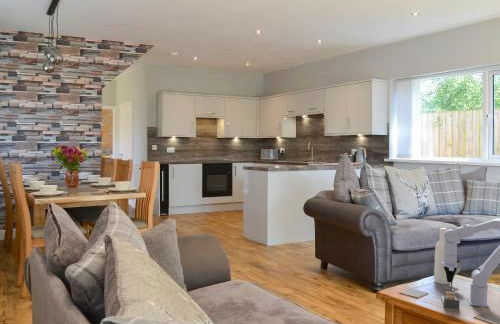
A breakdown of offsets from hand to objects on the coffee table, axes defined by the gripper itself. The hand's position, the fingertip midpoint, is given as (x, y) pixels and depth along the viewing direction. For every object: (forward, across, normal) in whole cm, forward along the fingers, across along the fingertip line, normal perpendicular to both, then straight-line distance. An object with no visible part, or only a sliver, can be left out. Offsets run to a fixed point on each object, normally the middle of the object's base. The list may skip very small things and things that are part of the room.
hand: (449, 282), depth 227 cm
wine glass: (+9, -22, +3) cm, 24 cm away
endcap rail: (+9, +6, 0) cm, 11 cm away
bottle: (+9, -32, -1) cm, 34 cm away
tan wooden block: (+8, +9, 0) cm, 12 cm away
